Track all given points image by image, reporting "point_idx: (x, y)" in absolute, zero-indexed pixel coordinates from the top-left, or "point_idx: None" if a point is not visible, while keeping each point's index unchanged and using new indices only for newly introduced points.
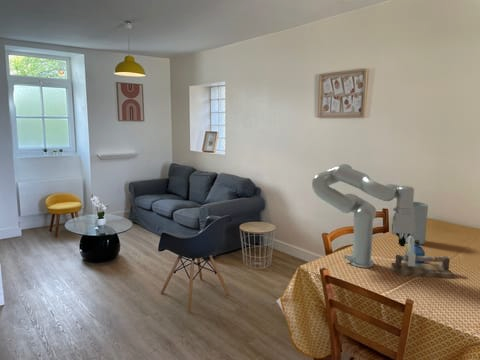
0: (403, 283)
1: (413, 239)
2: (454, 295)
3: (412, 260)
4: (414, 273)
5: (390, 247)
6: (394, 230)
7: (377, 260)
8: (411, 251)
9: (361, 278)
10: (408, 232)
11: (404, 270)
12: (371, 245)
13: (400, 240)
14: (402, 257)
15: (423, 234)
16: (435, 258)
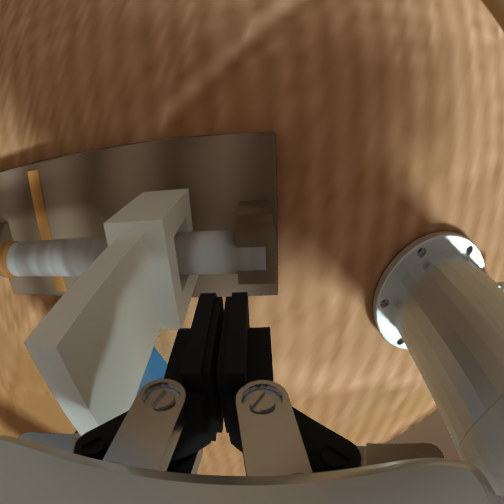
0: (277, 14)
1: (39, 340)
2: None
3: (147, 203)
4: (164, 140)
5: (215, 459)
6: (496, 496)
7: (328, 347)
8: (130, 243)
9: (488, 89)
10: (64, 479)
11: (226, 162)
12: (459, 356)
13: (257, 366)
14: (226, 239)
15: None
16: (1, 250)
